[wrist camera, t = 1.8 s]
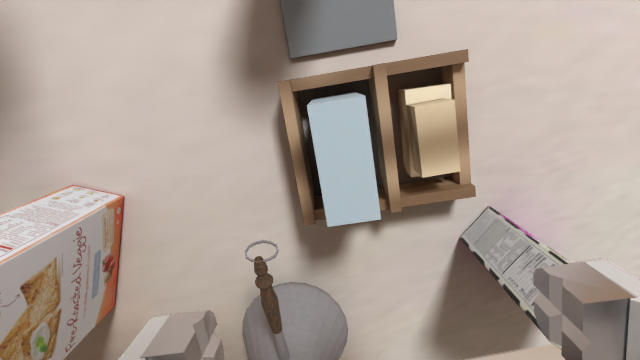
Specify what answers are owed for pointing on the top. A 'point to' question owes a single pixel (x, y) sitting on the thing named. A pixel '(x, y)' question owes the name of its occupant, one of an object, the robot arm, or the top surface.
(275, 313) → the coffee pot
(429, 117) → the upper offcut
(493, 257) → the candy bar box
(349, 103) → the board
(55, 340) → the cracker box
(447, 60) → the rack
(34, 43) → the top surface
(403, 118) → the block
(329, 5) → the mat
